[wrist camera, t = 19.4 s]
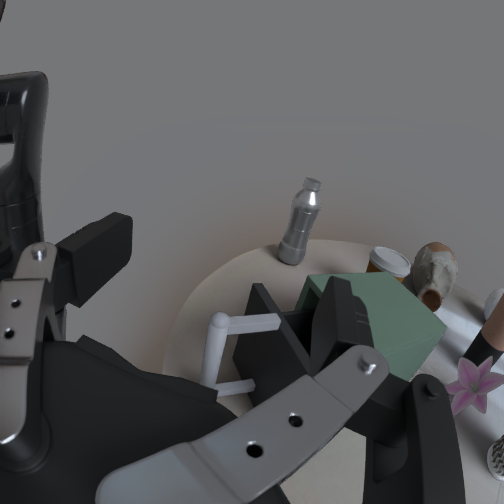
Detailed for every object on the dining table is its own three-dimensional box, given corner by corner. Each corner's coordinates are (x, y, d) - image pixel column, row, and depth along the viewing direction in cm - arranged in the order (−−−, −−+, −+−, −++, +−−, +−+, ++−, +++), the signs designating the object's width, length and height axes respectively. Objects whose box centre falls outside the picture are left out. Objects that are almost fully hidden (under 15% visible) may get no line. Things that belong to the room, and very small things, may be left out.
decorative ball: (472, 318, 64) (493, 283, 58) (482, 310, 70) (500, 278, 64) (500, 343, 55) (523, 307, 50) (507, 331, 61) (527, 299, 55)
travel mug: (460, 352, 50) (508, 276, 41) (483, 368, 45) (533, 294, 36) (456, 370, 44) (511, 288, 35) (481, 387, 40) (539, 308, 31)
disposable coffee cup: (358, 286, 66) (378, 241, 61) (392, 305, 62) (415, 260, 57) (344, 301, 59) (366, 252, 54) (382, 323, 55) (409, 274, 49)
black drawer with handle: (211, 451, 26) (236, 376, 20) (184, 362, 37) (195, 271, 30) (363, 407, 35) (419, 332, 29) (319, 344, 46) (354, 268, 39)
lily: (445, 373, 45) (454, 343, 40) (495, 380, 37) (510, 350, 33) (430, 426, 37) (440, 400, 33) (486, 434, 30) (505, 409, 25)
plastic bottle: (291, 253, 74) (315, 177, 65) (307, 267, 69) (334, 187, 60) (270, 254, 71) (292, 173, 62) (284, 269, 66) (311, 184, 57)
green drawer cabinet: (321, 425, 32) (373, 353, 26) (278, 350, 43) (307, 274, 37) (399, 392, 39) (448, 327, 32) (354, 336, 50) (388, 271, 43)
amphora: (459, 248, 75) (471, 256, 50) (445, 296, 78) (449, 324, 54) (421, 236, 82) (416, 239, 58) (408, 284, 86) (397, 307, 61)
